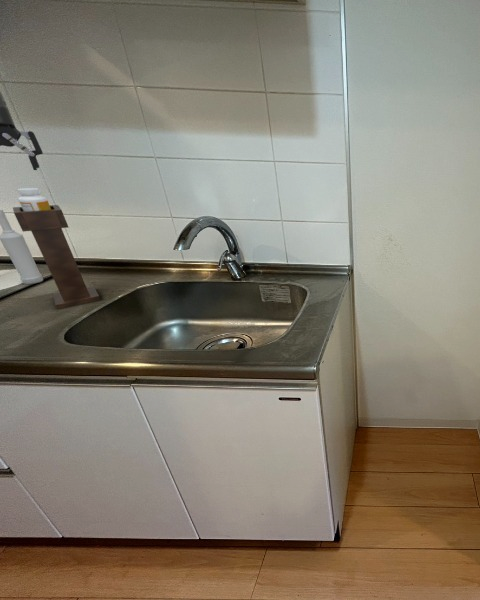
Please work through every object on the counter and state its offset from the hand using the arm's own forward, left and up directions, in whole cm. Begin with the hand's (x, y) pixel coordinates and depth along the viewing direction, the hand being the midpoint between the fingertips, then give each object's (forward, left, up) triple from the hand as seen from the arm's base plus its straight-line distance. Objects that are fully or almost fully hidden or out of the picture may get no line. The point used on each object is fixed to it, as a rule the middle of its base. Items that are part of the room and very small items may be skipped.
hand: (13, 169), depth 88 cm
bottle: (-7, +16, -39) cm, 43 cm away
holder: (+1, -10, -39) cm, 40 cm away
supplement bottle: (+1, -10, -14) cm, 17 cm away
